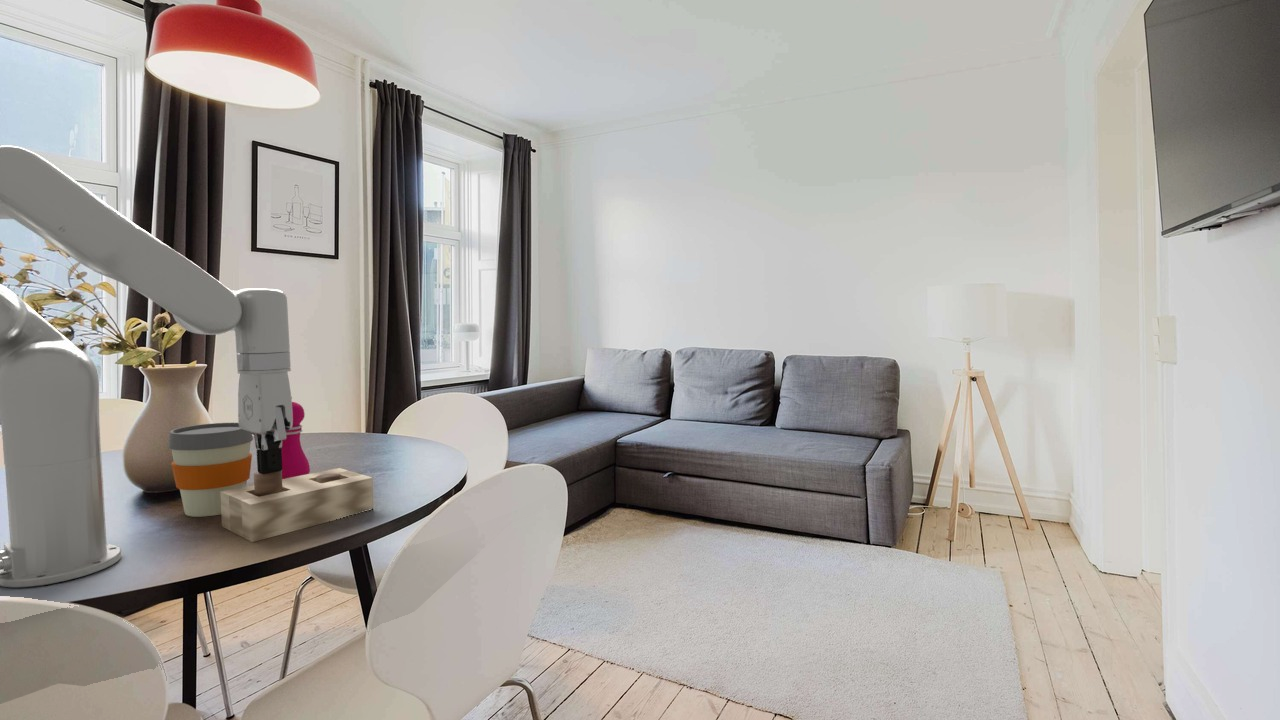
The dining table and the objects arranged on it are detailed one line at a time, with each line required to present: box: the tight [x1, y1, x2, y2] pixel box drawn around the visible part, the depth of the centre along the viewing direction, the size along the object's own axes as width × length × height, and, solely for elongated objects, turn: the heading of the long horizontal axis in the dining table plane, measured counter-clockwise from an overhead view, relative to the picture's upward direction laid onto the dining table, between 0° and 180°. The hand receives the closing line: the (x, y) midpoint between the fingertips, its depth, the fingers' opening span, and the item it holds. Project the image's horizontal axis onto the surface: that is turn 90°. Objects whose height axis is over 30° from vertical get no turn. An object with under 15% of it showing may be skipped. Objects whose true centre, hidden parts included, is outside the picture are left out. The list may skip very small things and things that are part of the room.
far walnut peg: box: [316, 473, 341, 483], centre depth 109 cm, size 4×4×6 cm
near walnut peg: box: [253, 470, 283, 497], centre depth 100 cm, size 4×4×6 cm
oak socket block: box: [220, 467, 374, 543], centre depth 105 cm, size 20×12×6 cm, turn 144°
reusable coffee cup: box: [168, 422, 254, 518], centre depth 109 cm, size 13×13×15 cm
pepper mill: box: [281, 396, 311, 479], centre depth 120 cm, size 7×7×20 cm
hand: (270, 471), depth 101 cm, fingers closed
